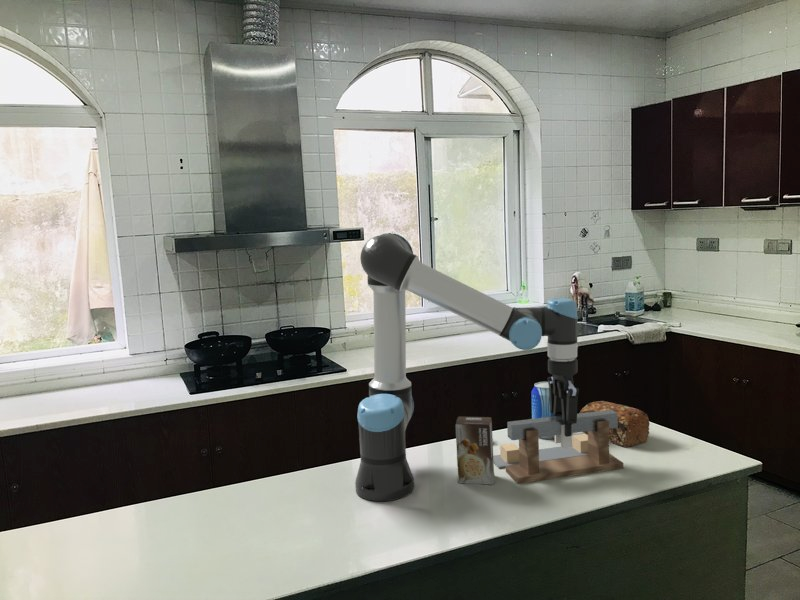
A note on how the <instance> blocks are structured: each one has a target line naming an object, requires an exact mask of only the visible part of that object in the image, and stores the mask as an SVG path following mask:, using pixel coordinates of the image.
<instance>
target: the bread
mask: <svg viewBox="0 0 800 600" xmlns="http://www.w3.org/2000/svg"><path fill="white" fill-rule="evenodd" d="M605 410H613V411H615V412H617V413H618V427H617V428H609V444H613V445H616V446H617V445H618V446H619V447H624V448H626V447H627V448H628V447H630V448H631V447H634V446H637V445H641V444H644V443H646V442H647V441H648V438H649V434H650V425H651V424H650V419H649V415H648V414H647V413H645V412H644V411H643V410H641V409H638V408H634V407H631V406H628V405H623V404H617V403H614V402H611V401H610V402H609V401H605V400H600V401H599V400H598V401H597V400H596V401H593V402H588V403H587V404H586V405H585V406H584V407H582V408H581V410H580V412H579V413H588V412H596V411H605ZM582 434H586V435H588V431H585V432H582Z"/></svg>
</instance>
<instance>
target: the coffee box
mask: <svg viewBox="0 0 800 600" xmlns="http://www.w3.org/2000/svg"><path fill="white" fill-rule="evenodd" d="M492 421H493V418H492V417H489V416H486V417H485V416H458V417H457V418H456V421H455V439H456V441H455V443H456V460H457V461H456V463H457V464H456V465H457V480H458V481H457V482H458V483H459V484H472V485H473V484H475V485H477V484H478V485H493V484H494V481H495V477H496V476H495V467H494V465H495V464H494V461H493V456H494V445H493V444H494V442H493V422H492Z"/></svg>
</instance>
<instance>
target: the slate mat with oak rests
mask: <svg viewBox="0 0 800 600" xmlns="http://www.w3.org/2000/svg"><path fill="white" fill-rule="evenodd" d="M499 450H500V452H499V453H500V454H496V455H494V454H493V461H494V465H495V466H496V467H497V469H504V468H505V469H506V466H512V465H519V446H518V445H516V443H514V442H513V443H512V442H511V443H504V444H500V445H499ZM584 455H588V434H587V433H580V434H572V447H568V448H562V447H561V446H555V447H548V448H540V449H539V462H540V461H548V460H555V459H562V458H569V457H576V456H584Z"/></svg>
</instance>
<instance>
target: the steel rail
mask: <svg viewBox="0 0 800 600" xmlns="http://www.w3.org/2000/svg"><path fill="white" fill-rule="evenodd" d="M604 420H608V421H609V428H617V427H618V413H617V412H615V411H613V410H605V411H596V412H588V413H580V412H579V413H577V423H575V424H572V434H577V433H583V432H585V431H593V430H597V421H604ZM560 422H563V419H562V416H553V417H545V418H536V419H532V418H528V419H521V420H512V421H507V423H506V424H507V426H506V427H507V438H509V440H511V441H519V440H520V439H526V430H534V429H537V430H538V437H544V436H552V435H560V434H561V424H560Z"/></svg>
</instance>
